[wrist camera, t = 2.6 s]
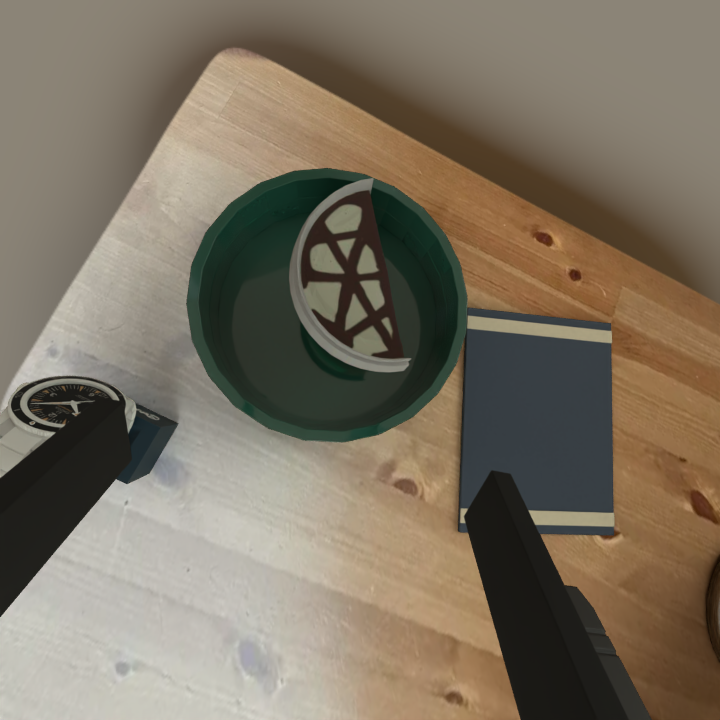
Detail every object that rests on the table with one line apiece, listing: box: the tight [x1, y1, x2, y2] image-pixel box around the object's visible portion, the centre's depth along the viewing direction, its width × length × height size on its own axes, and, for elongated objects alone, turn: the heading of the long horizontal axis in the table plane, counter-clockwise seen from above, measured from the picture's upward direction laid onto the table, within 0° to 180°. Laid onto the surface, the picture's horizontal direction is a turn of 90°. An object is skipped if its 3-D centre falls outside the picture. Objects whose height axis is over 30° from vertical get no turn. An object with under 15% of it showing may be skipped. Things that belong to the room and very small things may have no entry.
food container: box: [289, 178, 411, 372], centre depth 24 cm, size 12×6×10 cm, turn 11°
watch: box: [0, 376, 178, 484], centre depth 21 cm, size 6×8×11 cm
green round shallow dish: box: [186, 168, 468, 443], centre depth 27 cm, size 21×21×5 cm
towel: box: [458, 308, 614, 535], centre depth 31 cm, size 15×20×1 cm
